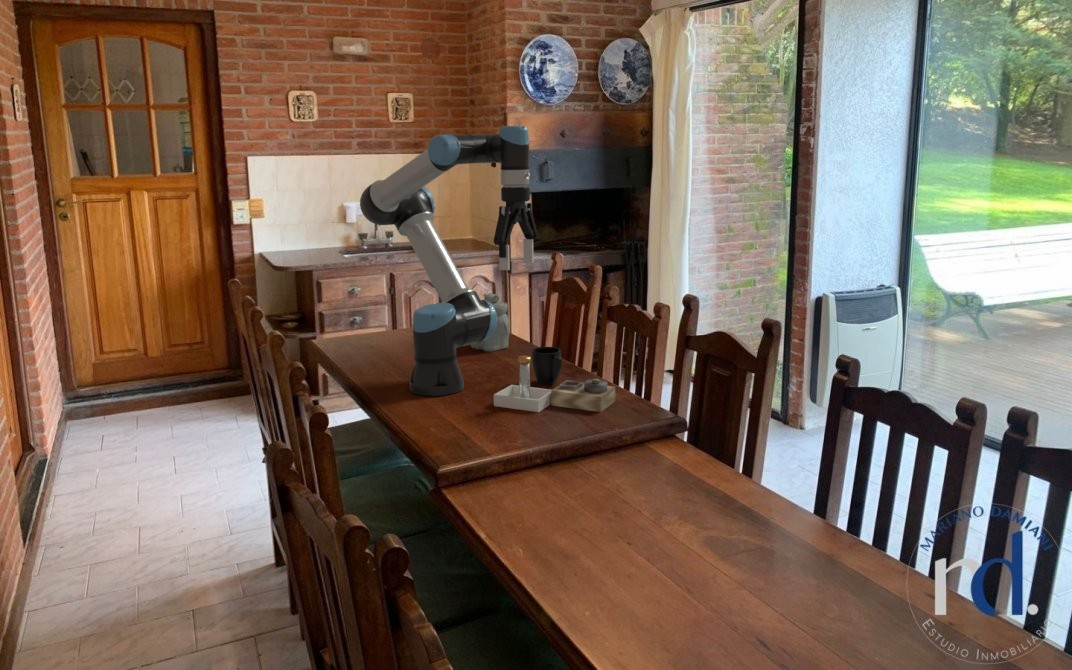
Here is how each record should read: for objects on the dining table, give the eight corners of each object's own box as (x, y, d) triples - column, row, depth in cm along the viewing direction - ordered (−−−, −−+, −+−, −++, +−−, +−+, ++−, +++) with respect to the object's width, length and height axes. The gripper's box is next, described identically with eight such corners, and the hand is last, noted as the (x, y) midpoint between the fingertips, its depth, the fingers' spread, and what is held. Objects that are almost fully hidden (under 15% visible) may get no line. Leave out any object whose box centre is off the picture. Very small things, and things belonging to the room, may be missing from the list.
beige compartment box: (551, 405, 225) (550, 380, 223) (567, 395, 233) (566, 370, 232) (600, 412, 219) (601, 386, 217) (615, 401, 227) (615, 376, 226)
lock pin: (515, 402, 225) (514, 358, 223) (522, 398, 229) (521, 355, 226) (528, 404, 224) (527, 359, 221) (534, 400, 227) (533, 356, 224)
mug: (546, 391, 237) (545, 357, 235) (527, 380, 248) (527, 348, 246) (572, 387, 241) (572, 354, 239) (553, 377, 251) (552, 345, 249)
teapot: (461, 342, 295) (459, 288, 291) (505, 340, 298) (504, 286, 293) (465, 354, 279) (463, 297, 275) (511, 351, 282) (510, 295, 278)
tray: (493, 405, 225) (493, 394, 224) (511, 395, 234) (511, 384, 233) (538, 412, 219) (538, 400, 218) (555, 401, 228) (555, 390, 227)
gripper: (504, 189, 213) (506, 273, 218) (549, 183, 235) (549, 260, 240) (478, 188, 217) (481, 272, 221) (524, 183, 238) (526, 259, 243)
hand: (516, 266), depth 231 cm, fingers open, 13 cm apart
